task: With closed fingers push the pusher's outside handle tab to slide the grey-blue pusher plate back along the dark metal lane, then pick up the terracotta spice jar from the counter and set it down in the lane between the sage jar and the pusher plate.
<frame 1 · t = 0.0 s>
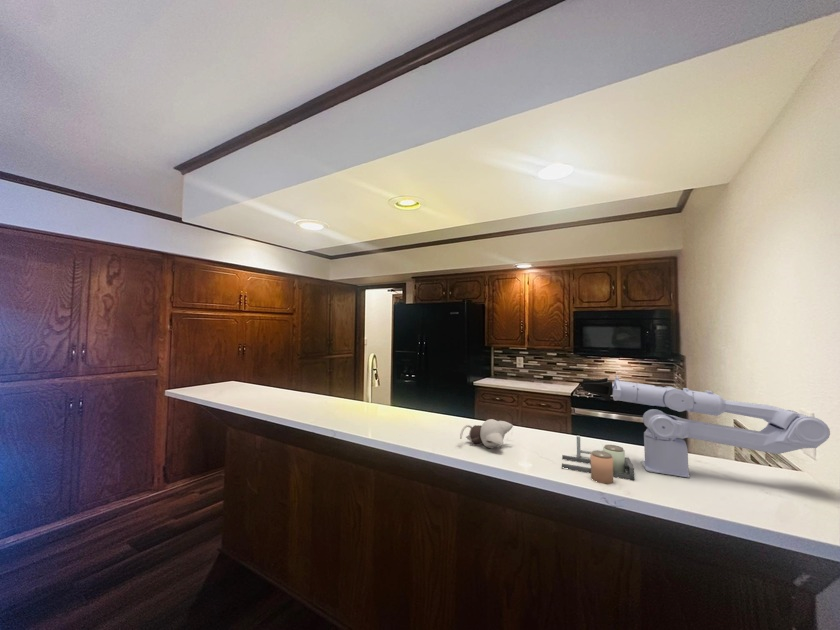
hand: (582, 385, 100), 22 cm above the table, tool horizontal, fingers open, 7 cm apart
pusher: (588, 452, 94), point 3 cm above the table, slide at 0.0 cm
lane: (595, 468, 90), on the table
jar a: (614, 471, 88), resting in lane
toy: (486, 447, 107), on the table
jar b: (602, 479, 83), on the table
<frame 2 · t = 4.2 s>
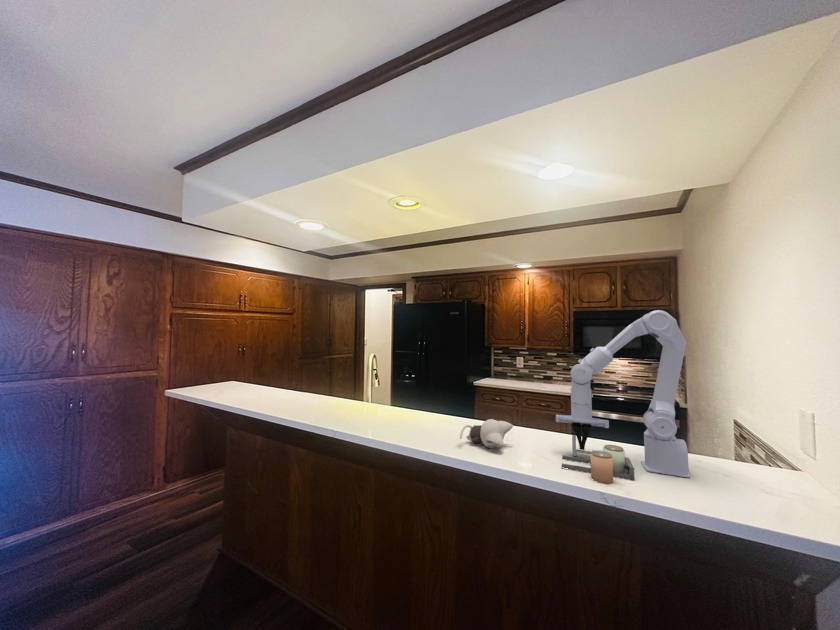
hand: (581, 448, 99), 2 cm above the table, tool pointing down, fingers closed
pusher: (584, 451, 94), point 3 cm above the table, slide at 1.2 cm, touching gripper
everything else where it was.
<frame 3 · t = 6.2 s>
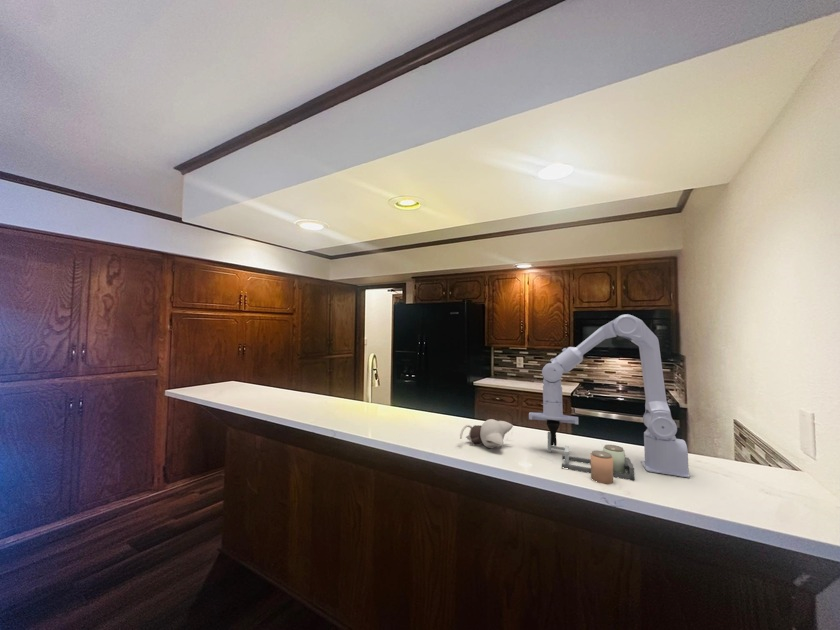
hand: (553, 444, 103), 2 cm above the table, tool pointing down, fingers closed, pressing on pusher
pusher: (557, 448, 97), point 3 cm above the table, slide at 8.3 cm, touching gripper
everything else where it was.
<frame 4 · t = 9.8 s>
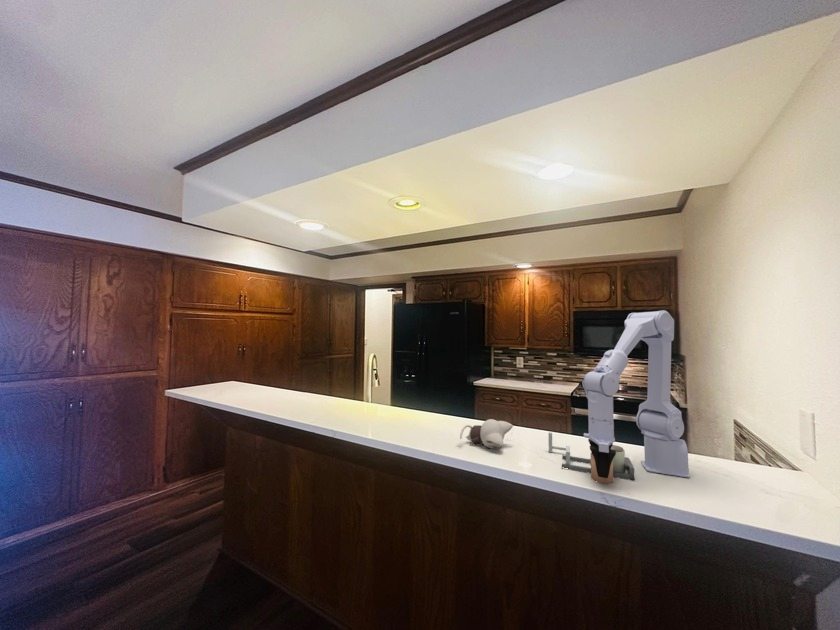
hand: (601, 473, 83), 2 cm above the table, tool pointing down, fingers closed on jar b, 5 cm apart
pusher: (558, 448, 97), point 3 cm above the table, slide at 8.0 cm
jar b: (602, 479, 83), on the table, touching gripper
everything else where it was.
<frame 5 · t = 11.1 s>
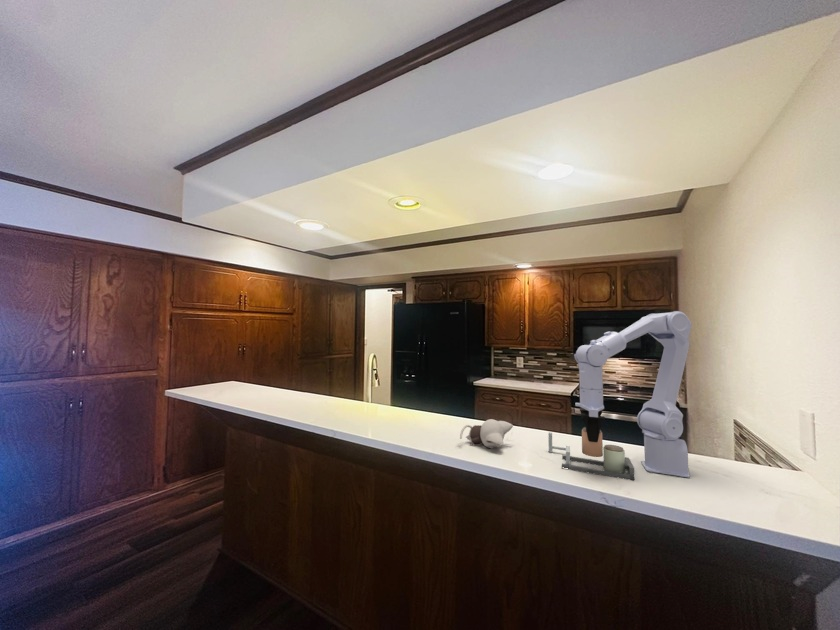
hand: (592, 438, 89), 9 cm above the table, tool pointing down, fingers closed on jar b, 5 cm apart
jar b: (592, 453, 89), point 5 cm above the table, touching gripper
everything else where it was.
when the fingers open (2 cm above the table, at t = 13.0 s): jar b stays where it is, resting in lane.
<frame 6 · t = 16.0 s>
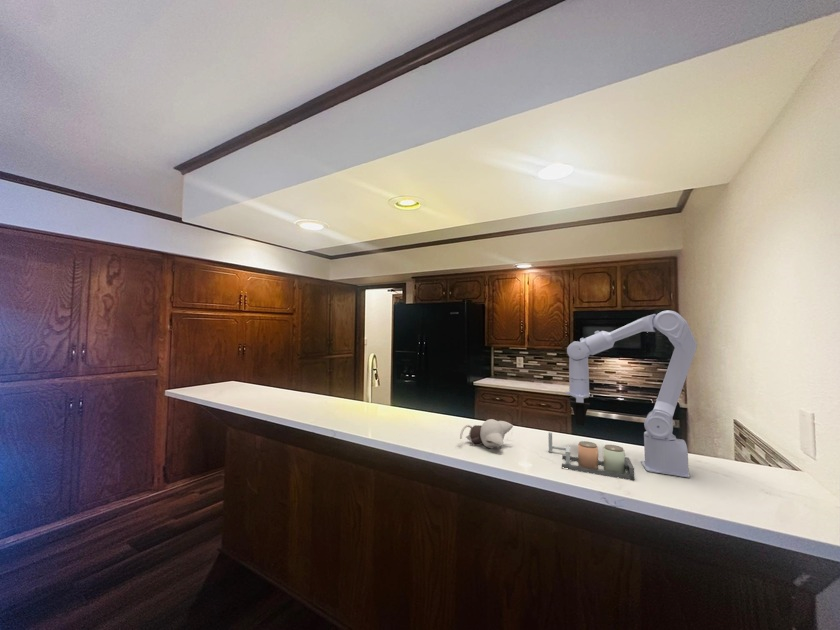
hand: (579, 422, 104), 9 cm above the table, tool pointing down, fingers open, 7 cm apart
jar b: (588, 467, 91), resting in lane
everything else where it was.
at the end: jar b 0.7 cm from the target spot on the lane, point 0.0 cm above the lane's base; jar b tilted 0°; pusher slide at 8.0 cm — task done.
